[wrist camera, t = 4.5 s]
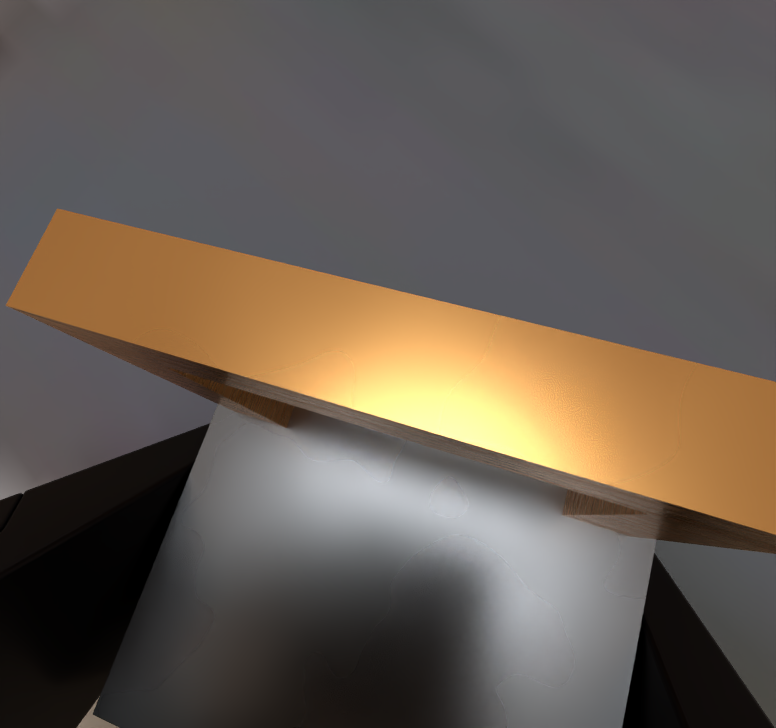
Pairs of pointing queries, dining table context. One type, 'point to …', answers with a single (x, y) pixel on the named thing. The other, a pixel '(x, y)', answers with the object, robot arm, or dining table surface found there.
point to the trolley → (398, 493)
